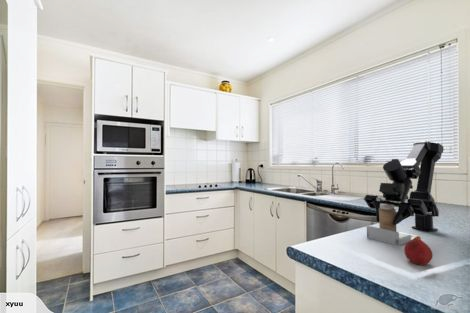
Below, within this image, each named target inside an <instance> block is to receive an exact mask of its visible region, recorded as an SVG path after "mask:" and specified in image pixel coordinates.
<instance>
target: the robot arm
mask: <svg viewBox="0 0 470 313" xmlns="http://www.w3.org/2000/svg"><path fill="white" fill-rule="evenodd" d="M443 153H444V146H443V145H442V144H440V142H431V141H427V140H422V141H416V142H414V143H413V147H412V149H410V152H409V153H408V155H407V157H406V158H405V159H404V160H402V161H400V160H399V159H398V158H391V160H390V161H387V162H385V164H383V166H382V169H383V171H384V172H385V175H386V176H387V178H388V180H389V181H391V182H392V183H391V182H380V185H379V190H378V192H380V193H381V194H382V197H383V198H384V199H382V198H380V197H379V196H378V195H375V194H365V196H364V198H363V200H364V202H365V203H366V204H367V206H368V208H370V209H374V210H376V211H375V214H376V215H375V216H376V222H378V223H379V208H380V204H392V205H394V208H398V209H397V211H396V216H395V218H394V221H393V224H394V225H396V226H397V225H398V224H400V223H401V222H402V221H404V220H405V219H408V218H410V217H414V225H413V226H411V228H412V229H415V230H421V231H425V232H432V231H434V232H435V231H438V230H439V229H438V228H436V227H434V218H435V217H439V214H440V210H439V209H438V206H437V204H436V203H435V198H434V197H433V195H432V192H431V191H432V185H433V179H434V172H435V165H436V163H437V162H438V161H439V160H440V159H441V158H442V154H443ZM412 179H413V180H417V179H418V180H417V182H416V183H417V184H416V189H415V190H413V189H414V185H413V181H412ZM410 189H411V191H410ZM412 190H413V191H412ZM409 191H410V193H409ZM408 194H409V195H408ZM406 200H407V202H406Z"/></svg>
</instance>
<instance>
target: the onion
mask: <svg viewBox="0 0 470 313" xmlns="http://www.w3.org/2000/svg"><path fill="white" fill-rule="evenodd" d="M421 239H422V237H421V236H420V235H416V237H415V238H414V239H412V240H410V241H408V242H405V243H406V244H405V245H404V246H403V251H404V255H405V256H406V258H407V259H408V260H409V262H411V263H412V264H416V265H418V266H424V265H427V264H429V263H430V262H431V261H432V259H433V256H434V255H433V251H432V248H431V247H430V246H429V245H428V244H427V243H426V242H424V241H423V240H421Z"/></svg>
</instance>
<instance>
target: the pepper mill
mask: <svg viewBox="0 0 470 313" xmlns="http://www.w3.org/2000/svg"><path fill="white" fill-rule="evenodd" d="M396 214H397V210H396V209H395V207H394V205H392V204H380V208H379V222H378V223H379V226H378V228H382V229H386V230H391V231H396V232H398V231H397V224H396V225H394V224H393V221H394V218H395V216H396Z"/></svg>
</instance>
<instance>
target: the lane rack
mask: <svg viewBox="0 0 470 313" xmlns="http://www.w3.org/2000/svg"><path fill="white" fill-rule="evenodd" d="M396 231H397V230H396ZM396 231H391V230H386V229H382V228H380V227H377V226H372V225H366V238H368V239H373V240H376V241H380V242H384V243H388V244H392V245H395V246H400V245H402V244H405V243H407V242H409V241H410V240H412V239H414V238H415V237H416V236H417V234H416V235H414V234H411V233H406V232H402V231H397V232H396Z"/></svg>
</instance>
